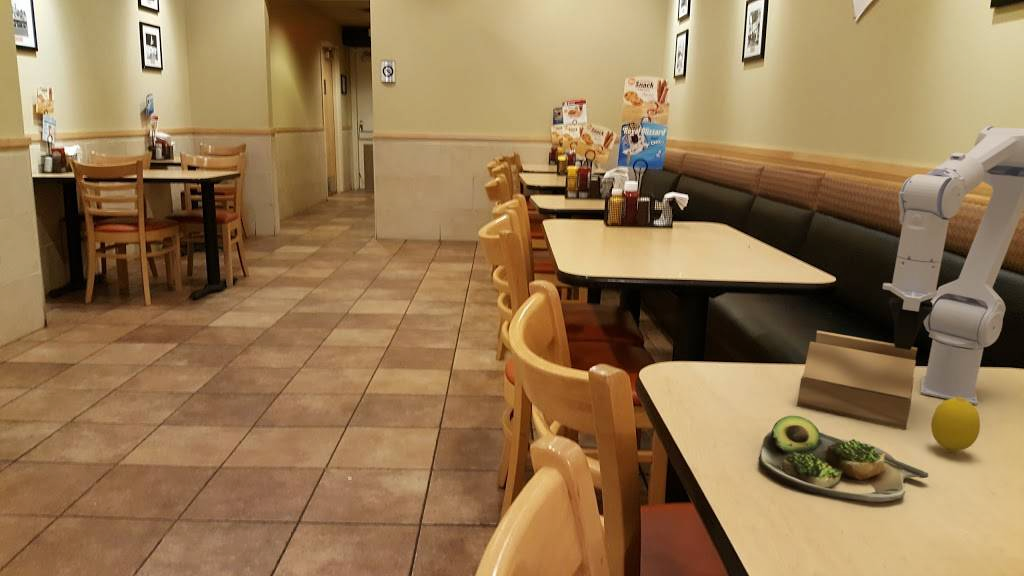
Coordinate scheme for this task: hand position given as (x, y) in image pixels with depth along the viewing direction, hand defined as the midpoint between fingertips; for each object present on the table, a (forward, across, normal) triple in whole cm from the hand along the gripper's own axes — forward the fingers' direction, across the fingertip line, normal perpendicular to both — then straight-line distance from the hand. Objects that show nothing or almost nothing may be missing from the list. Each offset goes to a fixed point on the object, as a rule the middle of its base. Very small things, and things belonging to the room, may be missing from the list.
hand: (902, 347), depth 111 cm
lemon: (+11, +11, +8) cm, 17 cm away
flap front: (+3, +5, -5) cm, 8 cm away
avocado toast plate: (+11, +26, -7) cm, 29 cm away
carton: (+10, 0, -5) cm, 12 cm away
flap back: (+3, -5, -5) cm, 8 cm away
